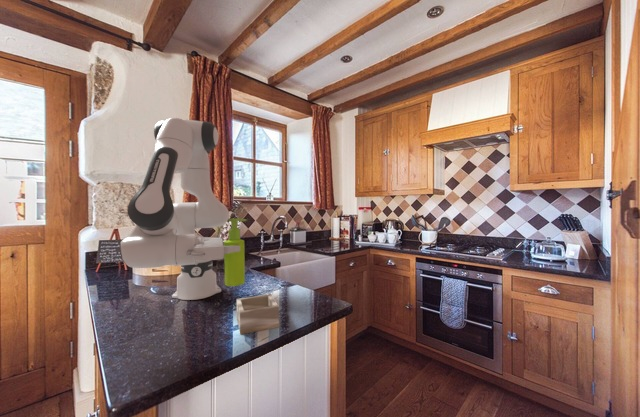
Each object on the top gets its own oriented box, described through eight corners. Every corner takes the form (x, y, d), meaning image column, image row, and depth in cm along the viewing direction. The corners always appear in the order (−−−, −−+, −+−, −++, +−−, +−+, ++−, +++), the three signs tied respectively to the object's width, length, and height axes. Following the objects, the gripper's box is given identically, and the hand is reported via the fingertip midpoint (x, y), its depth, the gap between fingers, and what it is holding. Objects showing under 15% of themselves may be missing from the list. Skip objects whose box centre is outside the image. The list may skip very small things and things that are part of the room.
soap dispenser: (241, 287, 76) (241, 219, 76) (220, 285, 78) (220, 218, 77) (251, 281, 82) (250, 218, 82) (231, 280, 83) (230, 217, 83)
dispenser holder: (236, 317, 86) (236, 299, 86) (270, 311, 91) (270, 294, 91) (240, 334, 75) (240, 312, 75) (279, 326, 79) (278, 306, 79)
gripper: (185, 243, 65) (242, 240, 71) (192, 234, 84) (236, 233, 90) (185, 268, 66) (242, 263, 71) (192, 254, 85) (236, 251, 90)
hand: (239, 246), depth 80 cm, fingers closed on soap dispenser, 6 cm apart
